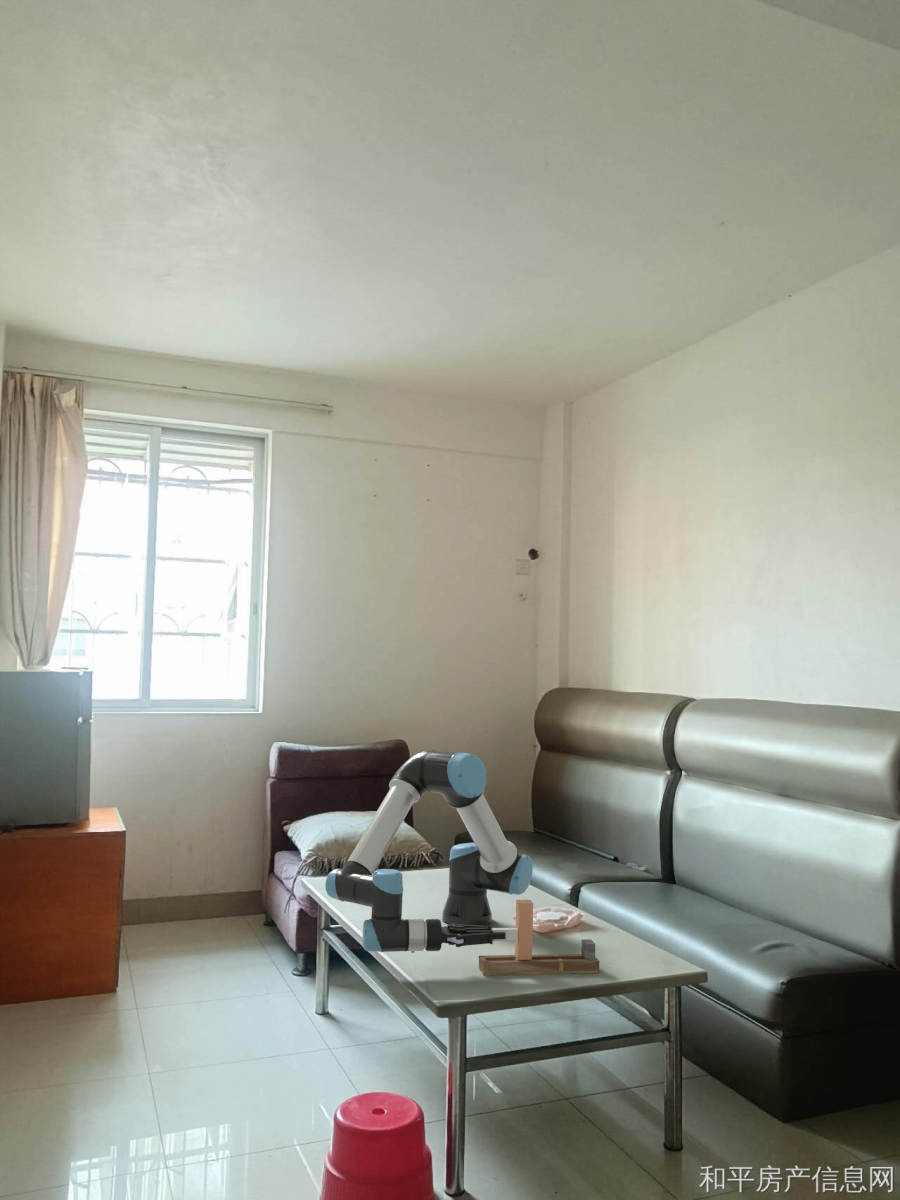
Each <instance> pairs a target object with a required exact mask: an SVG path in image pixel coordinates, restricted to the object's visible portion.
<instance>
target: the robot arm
mask: <svg viewBox="0 0 900 1200" xmlns="http://www.w3.org/2000/svg"><path fill="white" fill-rule="evenodd" d="M486 774H487V770H486V766H485V763H484V762H483V760H481V758H480V757H479V756H478V755H475V754H472V753H468V752H464V751H461V752H458V751H457V752H456V751H444V750H442V751H441V750H436V749H435V750H434V749H428V750H427V749H426V750H423V751H420V752H417V753H415V754H414V755H412V756H410V758H408V760H406V761H405V762H404V763H403V764H402V765H401V766H400V767H399V768H398V769H397V770H396V772H395V773H394V775H393V776H392V777H391V779H390V781H389V784H388V787H389V790H388V792H387V793H386V795H385V797H384V798H383V800H382V802H381V803H380V805H379V807H378V808H377V810H376V812H375V814H374V815H373V817H372V818H371V819H370V822H369V823H368V825H367V827H366V829H365V830H364V832H363V834H362V835H361V837H360V838H359V841H358V842H357V844H356V846H355V847H354V849H353V850H352V853H351V854H350V856H349V858H348V859H347V861H346V863H345V864H344V866H343V868H334V869H333V870H332V871H330V872H329V873H328V875H327V877H326V879H325V883H324V885H325V891H326V893H327V895H328V896H329V897H330V898H332V899H334V900H336V901H339V902H347V903H353V904H356V905H357V904H358V905H361V906H366V907H370V908H371V916H370V918H369V919H364V921H363V924H362V948H363V949H364V951H366V952H376V953H377V952H378V953H379V952H380V953H384V952H385V953H386V952H387V953H389V952H410V953H411V954H415V952H423V951H424V950H425V951H426V952H440V951H441V949H442V945H443V944H448V945H449V946H454V945H455V947H456V948H460V947H464V946H465V947H466V946H476V945H477V946H478V945H487V944H488V945H493V943H494V942H495V941H496V942H497V941H499V942H500V941H503V942H505V941H508V942H509V941H515V940H518V929H517V928H516V927H492V925H491V923H492V922H493V921H492V917H493V915H492V914H493V913H492V910H491V907H490V903H489V898H488V896H487V893H488V892H487V891H488V890H489V891H492V892H493V891H495V892H497V893H504V894H509V895H511V896H512V895H517V896H518V895H519V896H520V895H523V894H524V893H525V892H526V891H527V890H528V888H529V886H530V883H531V881H532V877H533V876H532V875H533V870H534V869H533V868H534V867H533V860H532V858H531V857H530V856H529V855H527V854H525V853H524V854H521V853H519V850H518V849H517V847H516V845H515V843H513V842H511V841H510V840H508V839H506V837H505V834H504V832H503V831H502V829H501V826H500V824H499V823H498V821H497V819H496V816H495V815H494V813H493V810H492V809H491V807H490V805H489V802H488V801H487V798H486V797H485V795H484V792H485V788H486V785H487V779H488V777H487V776H486ZM426 793H431V794H440V795H441V796H443V798H444V800H445V802H446V804H447V805H448V806H449V807H450V808H452V809H456V811H457V814H459V816H460V818H461V820H462V822H463V824H464V826H465V827H466V830H467V831H468V833H469V836H470V837H471V839H472V840H473V842H466V843H458V844H456V845H453V846H452V847H451V848H450V851H449V859H448V861H449V875H448V876H449V877H448V896H447V897H446V898H447V899H446V901H445V904H444V906H443V907H444V908H443V910H442V913H441V914H442V916H441V917H442V919H439V918H430V919H429V918H428V919H427V918H426V919H425V920H424V919H423V918H417V919H416V918H414V919H413V918H411V919H409V918H408V919H403V918H402V913H403V894H404V885H403V883H404V882H403V873H402V872H401V871H400V870H397V869H394V868H393V869H392V868H391V869H390V868H380V869H379V868H378V869H377V867H378V866H379V864H380V862H381V861H382V858H383V857H384V855H385V853H386V851H387V850H388V848H389V846H390V844H391V843H392V841H393V839H394V838H395V836H396V834H397V832H398V831H399V829H400V827H401V825H402V824H403V822H404V821H405V819H406V817H407V814H408V813H409V811H410V810H411V808H412V806H413V805H414V803H418V802H419V801H420V799H421V798H422V796H423V795H424V794H426ZM376 869H377V870H376ZM442 922H443V923H445V922H446V923H445V924H447V923H448V924H447V925H446V926H442Z"/></svg>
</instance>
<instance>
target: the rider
mask: <svg viewBox="0 0 900 1200" xmlns="http://www.w3.org/2000/svg"><path fill="white" fill-rule="evenodd" d="M533 926H534V902H533V901H532V900H531V899H516V900H515V928H517V929H518V940H514V955H515V957H516V958H515V960H532V955H533V932H534V931H533V930H534V929H533V928H534V927H533Z"/></svg>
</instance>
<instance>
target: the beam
mask: <svg viewBox="0 0 900 1200" xmlns="http://www.w3.org/2000/svg"><path fill="white" fill-rule="evenodd" d="M515 958H516V957H515V954H505V955H504V954H499V955H498V954H495V955H493V954H491V955H490V954H489V955H478V969H479V971H480V973H481V974H482V976H504V975H505V976H508V975H509V976H513V975H514V976H515V975H517V976H518V975H562V974H563V975H565V974H567V975H568V973H571V974H572V973H576V974H600V960H599V959H598V958H597V957H596V943H595V942H594V941H593V940H592V939H591V938H587V939H585V938H582V939H581V953H568V954H566V953H565V954H564V953H563V954H560V953H558V954H557V953H551V954H532V960H515Z"/></svg>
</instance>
